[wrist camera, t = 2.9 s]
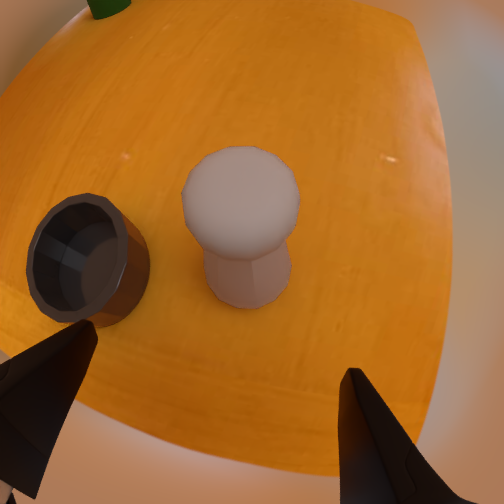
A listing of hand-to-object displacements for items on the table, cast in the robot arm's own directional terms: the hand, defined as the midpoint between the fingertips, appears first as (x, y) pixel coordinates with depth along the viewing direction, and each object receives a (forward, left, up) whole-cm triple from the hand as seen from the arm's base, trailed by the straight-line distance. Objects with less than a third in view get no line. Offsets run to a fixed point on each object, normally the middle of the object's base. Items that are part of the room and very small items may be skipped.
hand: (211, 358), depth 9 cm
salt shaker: (+4, -3, -12) cm, 13 cm away
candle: (+64, -3, -12) cm, 66 cm away
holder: (+10, +8, -12) cm, 18 cm away
